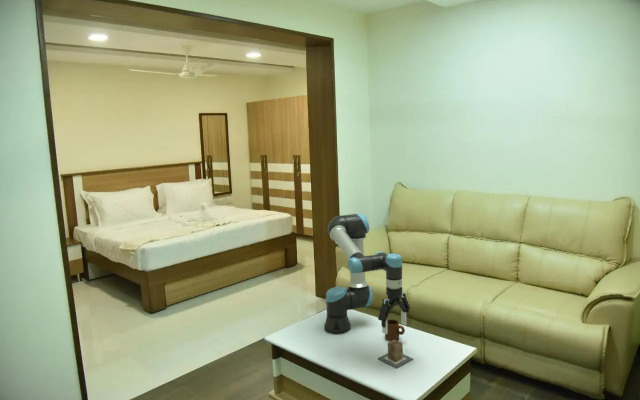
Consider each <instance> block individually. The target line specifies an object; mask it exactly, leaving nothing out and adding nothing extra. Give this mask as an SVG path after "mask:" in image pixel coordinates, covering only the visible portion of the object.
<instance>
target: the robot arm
mask: <svg viewBox="0 0 640 400" xmlns="http://www.w3.org/2000/svg"><path fill="white" fill-rule="evenodd" d="M369 232H370V224H369V220H368V218H367V217H366V216H365V214H364V213H351V214H344V215H337V216H334V217H333V218H332V219H331V220H330V221H329V223H328V225H327V234H328V236H329V238H330V239H331V240H332V241H334V242H335V243H336V245H337V246H338V247H339V248H340V250H341V252H342V254H344V256H345V258H346V259H347V268H348V271H349V278H350V282H349V283H348V285H347V288H346V287H344V286H335V287H331V288H329V289H328V290H327V291H326V292H325V293H326V294H325V296H326V297H325V301H326V302H325V303H326V304H325V306H326V317H325V321H324V324H323V327H324V328H323V329H324V331H325V332H326V333H327V334H332V335H343V334H347V333H348V332H350V331H351V330H352V329H351V326H352V325H351V322H350V320H349V316H348V311H349V310H355V309H362V308H363V309H364V308H367V307H369V306H371V304H372V302H373V299H374V293H373V289H372V287H371V286H370V285H369V283H368V282H367V281H366V272H374V271H379V270H380V271H381V270H382V271H385V280H386V281H385V285H386V288H385V290H386V293H385V294H386V295H387V298H386V299H385V298H383V299H382V305H381V307H380V311H379V313H378V314H379V315H378V318H377V320H378V321H381V327H382V328H381V330H382V331H381V332H382V333H383V334H384V335H385V334H388V324H387V320H388V317H389V316H390V313H391V311H392V309H394V307H396V306H398V307H399V308H400V309H401V311H400V323H401V325H402V326H407V318H408V313H409V312H410V311H409V310H411V307H410V305H409V302H408V299H407V297H406V293H405V292H403V257H402V255H401V254H397V253H386V252H383V251H378V252H376V253H374V254H373V255H371V254H370V255H365V249H364V248H365V247H364V240H365V239H366V236H367V235H366V234H368V233H369Z"/></svg>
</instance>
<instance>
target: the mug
mask: <svg viewBox="0 0 640 400" xmlns="http://www.w3.org/2000/svg"><path fill="white" fill-rule="evenodd" d="M387 324H388V334H385V333H384V338H385V340H386V341H387V342H391V341H393V340H397V341H399V339H400V336H401V335H403V334H405V333H406V329H405V327H404V325H402V324H401V325H400V322H399V321H398V320H397V319H391V318H390V319H387ZM400 329H401V330H400Z"/></svg>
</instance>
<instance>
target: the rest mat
mask: <svg viewBox="0 0 640 400" xmlns="http://www.w3.org/2000/svg"><path fill="white" fill-rule="evenodd" d="M377 360H379V361H380V362H383V363H384V364H387V365H388V366H390V367H392V368H394V369H398V368H401V367H403V366H404V365H407V364H408V363H409V362H411V361H413V360H414V358H412V357H410V356H408V355H405V354H404V353H403V359H401V360H399V361H397V362H395V361H393V360H391V359H388V352H387V353H386V354H383V355H382V356H379V357H377Z"/></svg>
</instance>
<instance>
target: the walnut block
mask: <svg viewBox="0 0 640 400" xmlns="http://www.w3.org/2000/svg"><path fill="white" fill-rule="evenodd" d="M403 345H404V344H403V342H401V341H399V340H393V341H387V353H388V359H391V360H393V361H395V362H397V361H399V360H401V359H403V354H404V353H403Z"/></svg>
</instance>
